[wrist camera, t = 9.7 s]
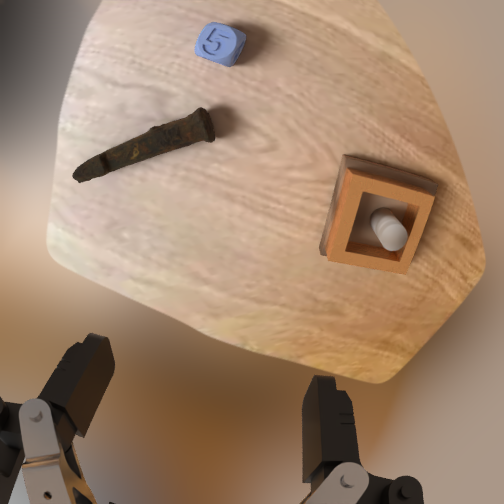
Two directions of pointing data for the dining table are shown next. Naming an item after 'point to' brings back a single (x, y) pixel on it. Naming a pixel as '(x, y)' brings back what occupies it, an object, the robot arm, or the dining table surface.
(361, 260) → the link
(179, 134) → the hand tool
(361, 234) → the keeper
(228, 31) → the decorative dice
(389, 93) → the dining table surface
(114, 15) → the dining table surface
